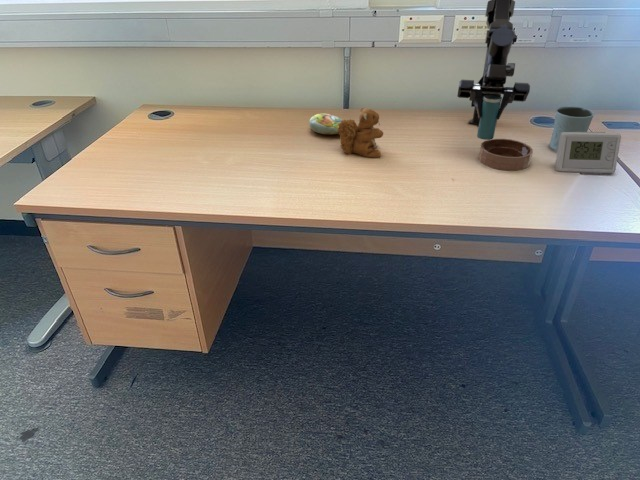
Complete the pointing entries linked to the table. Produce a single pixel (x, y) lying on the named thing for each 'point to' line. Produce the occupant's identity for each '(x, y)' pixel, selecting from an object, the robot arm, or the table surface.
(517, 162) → the bowl
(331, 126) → the decorated easter egg
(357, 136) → the stuffed squirrel
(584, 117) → the grey-green cup
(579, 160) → the digital clock
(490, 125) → the tin
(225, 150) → the table surface
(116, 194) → the table surface
